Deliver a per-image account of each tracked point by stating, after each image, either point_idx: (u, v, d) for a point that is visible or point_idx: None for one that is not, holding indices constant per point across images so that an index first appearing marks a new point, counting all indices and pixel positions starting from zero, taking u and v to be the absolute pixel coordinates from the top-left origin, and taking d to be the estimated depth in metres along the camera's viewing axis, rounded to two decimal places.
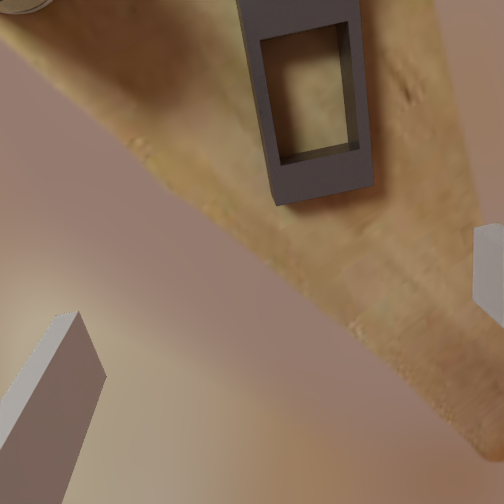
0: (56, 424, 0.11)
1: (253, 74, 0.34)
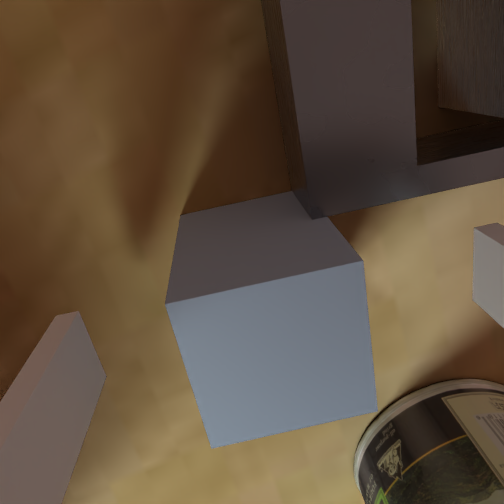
0: (56, 424, 0.11)
1: None
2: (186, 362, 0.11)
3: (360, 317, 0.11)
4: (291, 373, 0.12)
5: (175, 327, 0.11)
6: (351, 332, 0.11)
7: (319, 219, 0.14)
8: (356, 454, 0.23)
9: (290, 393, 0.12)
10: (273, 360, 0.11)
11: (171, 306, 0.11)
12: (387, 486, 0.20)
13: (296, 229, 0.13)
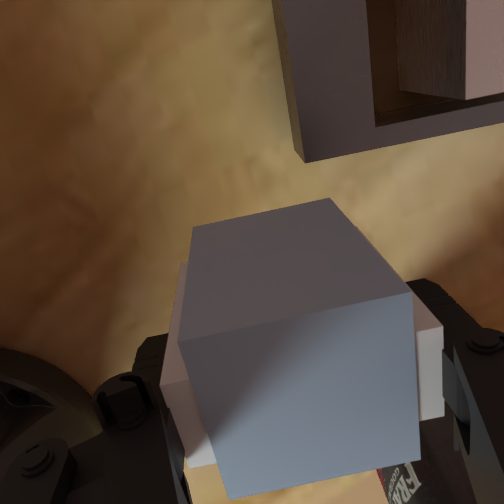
0: None
1: None
2: (201, 406, 0.10)
3: (405, 356, 0.10)
4: (322, 418, 0.10)
5: (189, 367, 0.09)
6: (393, 373, 0.10)
7: (351, 236, 0.12)
8: None
9: (321, 440, 0.10)
10: (303, 404, 0.10)
11: (184, 344, 0.09)
12: None
13: (325, 247, 0.12)
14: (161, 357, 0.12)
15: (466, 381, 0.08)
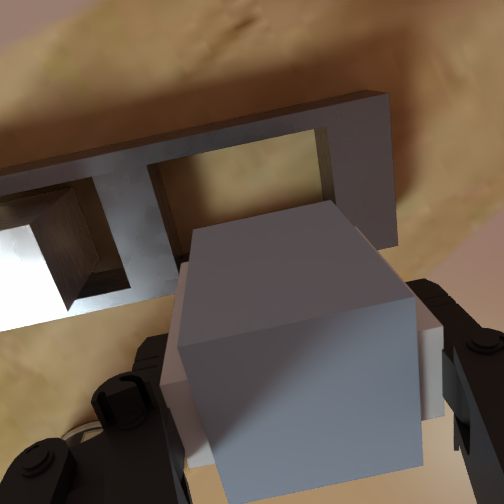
0: None
1: None
2: (201, 412, 0.10)
3: (408, 361, 0.09)
4: (324, 424, 0.10)
5: (189, 373, 0.09)
6: (396, 378, 0.10)
7: (353, 239, 0.12)
8: None
9: (323, 446, 0.10)
10: (304, 409, 0.10)
11: (184, 350, 0.09)
12: None
13: (327, 250, 0.12)
14: (161, 357, 0.12)
15: (466, 381, 0.08)
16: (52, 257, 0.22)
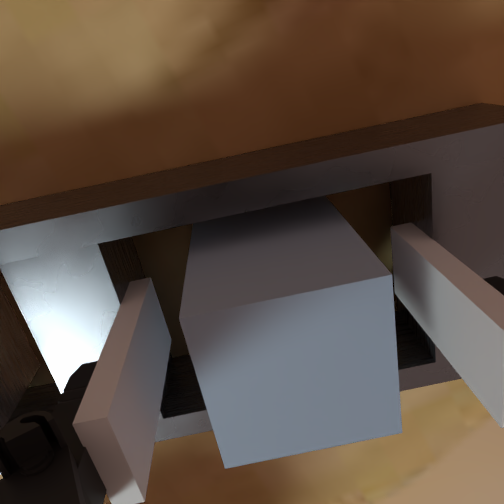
0: (146, 371, 0.12)
1: None
2: (200, 379, 0.11)
3: (387, 334, 0.10)
4: (311, 392, 0.11)
5: (189, 342, 0.10)
6: (376, 350, 0.11)
7: (341, 227, 0.13)
8: None
9: (310, 412, 0.11)
10: (293, 378, 0.11)
11: (185, 320, 0.10)
12: None
13: (316, 237, 0.13)
14: None
15: None
16: None
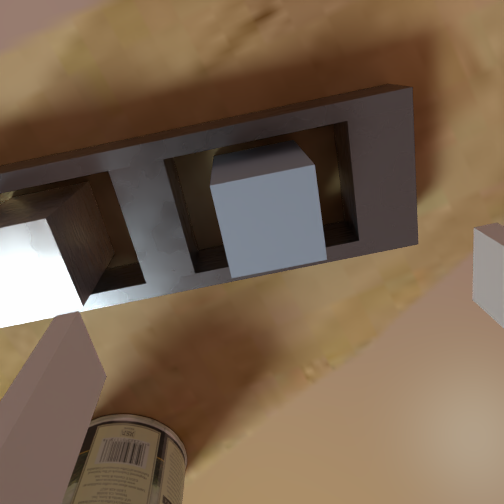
0: (56, 424, 0.11)
1: (236, 279, 0.26)
2: (219, 221, 0.21)
3: (314, 198, 0.21)
4: (277, 231, 0.21)
5: (214, 199, 0.20)
6: (309, 207, 0.21)
7: (297, 152, 0.23)
8: None
9: (276, 244, 0.21)
10: (267, 222, 0.21)
11: (213, 187, 0.20)
12: None
13: (283, 156, 0.23)
14: None
15: None
16: (68, 252, 0.22)
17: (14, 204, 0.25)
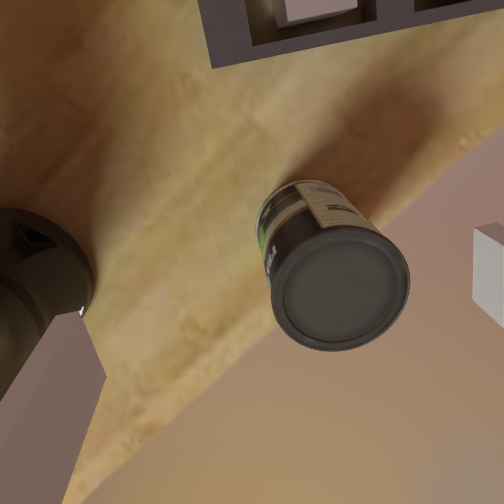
0: (56, 424, 0.11)
1: (443, 19, 0.34)
2: None
3: None
4: None
5: None
6: None
7: None
8: (256, 223, 0.43)
9: None
10: None
11: None
12: (263, 222, 0.40)
13: None
14: None
15: None
16: None
17: None
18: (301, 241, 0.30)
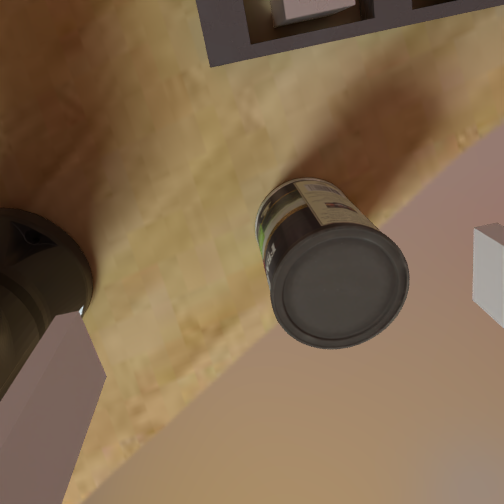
0: (56, 424, 0.11)
1: (441, 16, 0.34)
2: None
3: None
4: None
5: None
6: None
7: None
8: None
9: None
10: None
11: None
12: (262, 220, 0.40)
13: None
14: None
15: None
16: None
17: None
18: (300, 239, 0.30)
